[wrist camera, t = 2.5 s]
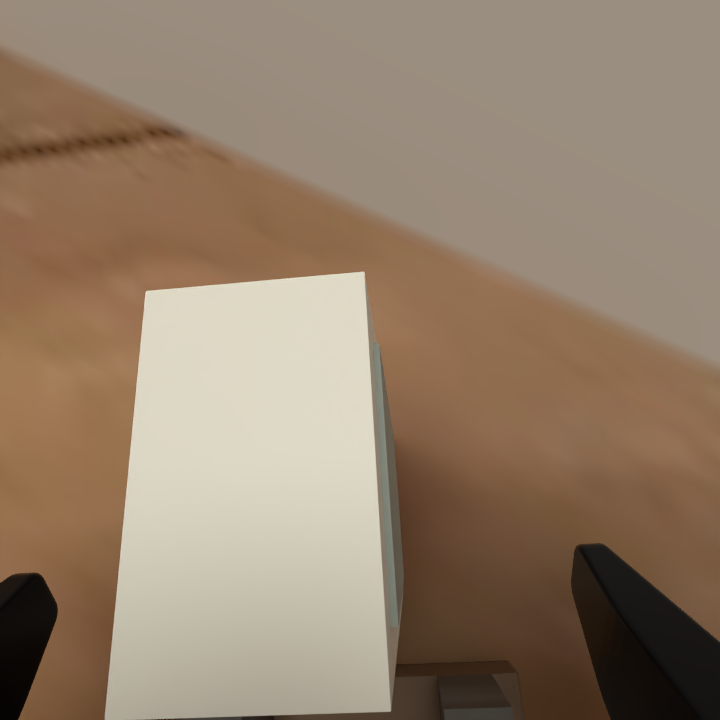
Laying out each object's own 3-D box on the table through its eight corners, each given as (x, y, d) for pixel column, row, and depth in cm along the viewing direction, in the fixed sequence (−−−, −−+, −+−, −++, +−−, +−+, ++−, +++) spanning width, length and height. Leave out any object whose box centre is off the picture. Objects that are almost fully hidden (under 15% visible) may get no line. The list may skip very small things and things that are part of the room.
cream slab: (406, 593, 16) (400, 711, 5) (307, 597, 17) (95, 721, 5) (395, 437, 18) (371, 271, 7) (305, 443, 18) (138, 291, 7)
